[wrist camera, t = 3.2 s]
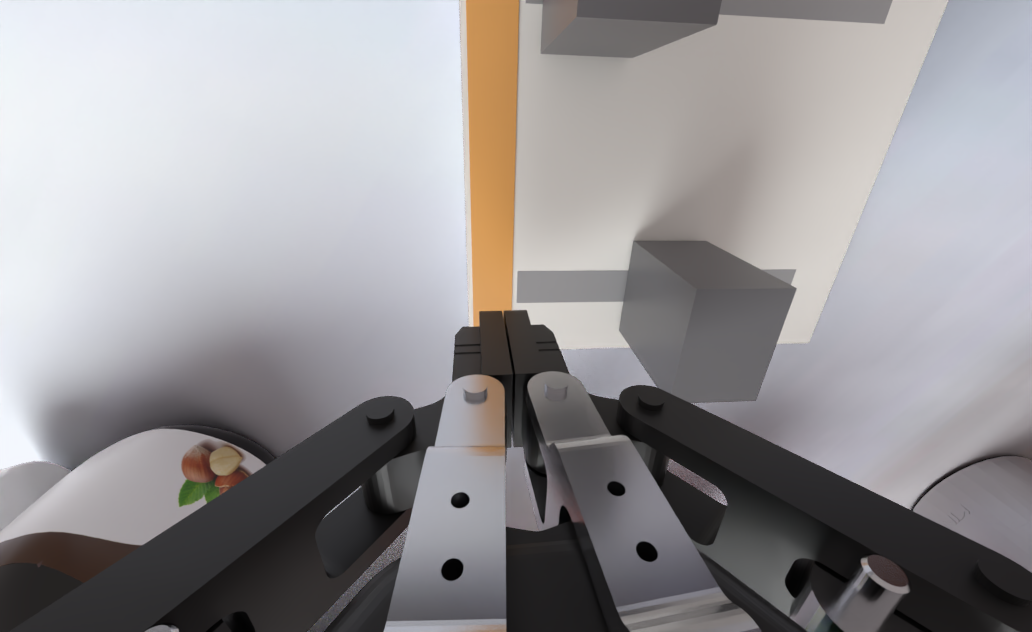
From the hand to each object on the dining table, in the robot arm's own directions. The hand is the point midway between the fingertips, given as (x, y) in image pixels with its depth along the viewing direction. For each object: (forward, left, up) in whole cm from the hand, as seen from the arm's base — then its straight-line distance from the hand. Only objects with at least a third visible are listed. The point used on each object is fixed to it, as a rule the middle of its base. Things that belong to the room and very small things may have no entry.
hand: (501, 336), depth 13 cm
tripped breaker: (-7, 0, -4) cm, 8 cm away
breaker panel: (-7, -5, -6) cm, 10 cm away
